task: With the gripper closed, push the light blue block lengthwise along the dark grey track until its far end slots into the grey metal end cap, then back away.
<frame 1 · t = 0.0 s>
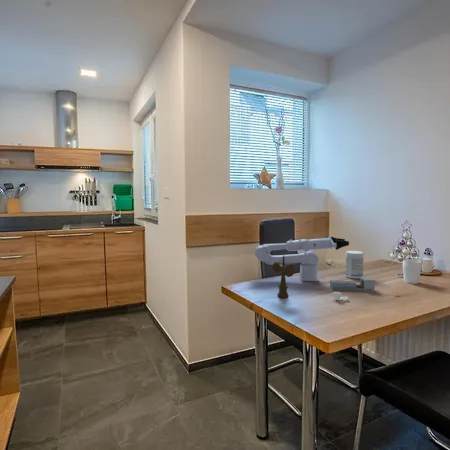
hand: (346, 242, 174), 22 cm above the table, tool horizontal, fingers open, 7 cm apart
track: (349, 289, 161), on the table
teacup and saucer: (342, 303, 142), on the table
kendama: (282, 297, 150), on the table
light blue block: (342, 289, 161), resting in track
supplement tub: (353, 277, 184), on the table
cup: (410, 282, 173), on the table
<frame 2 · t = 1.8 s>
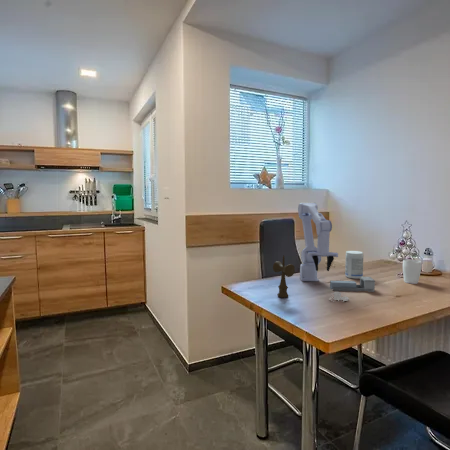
hand: (322, 270, 161), 9 cm above the table, tool pointing down, fingers open, 5 cm apart
nothing on the table moved.
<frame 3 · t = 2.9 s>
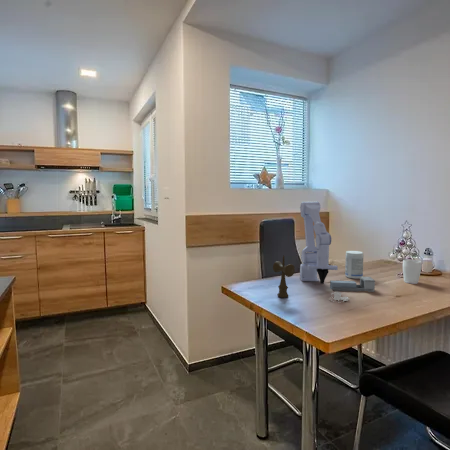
hand: (321, 283, 162), 3 cm above the table, tool pointing down, fingers closed
nothing on the table moved.
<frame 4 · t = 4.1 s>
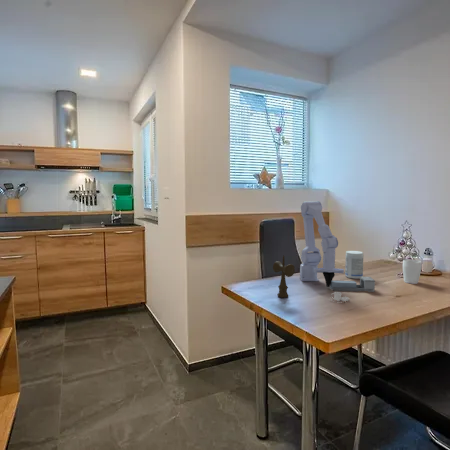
hand: (328, 286, 162), 1 cm above the table, tool pointing down, fingers closed
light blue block: (342, 289, 161), resting in track, touching gripper
everything else where it was.
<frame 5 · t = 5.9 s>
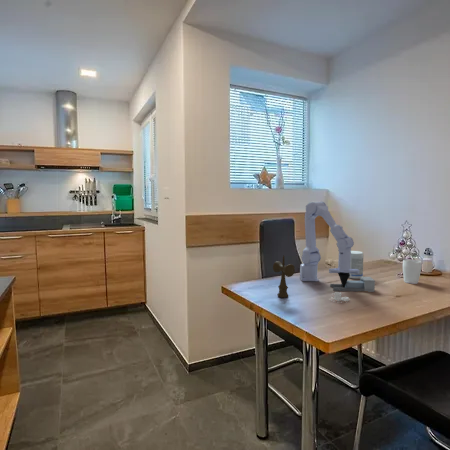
hand: (343, 287, 161), 1 cm above the table, tool pointing down, fingers closed
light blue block: (357, 289, 161), resting in track, touching gripper
everything else where it was.
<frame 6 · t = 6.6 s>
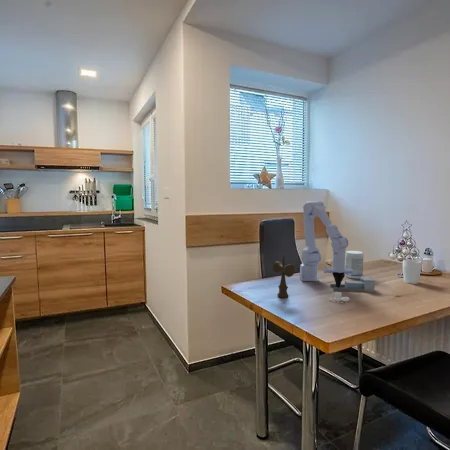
hand: (337, 286, 161), 1 cm above the table, tool pointing down, fingers closed
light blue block: (357, 289, 161), resting in track
everything else where it was.
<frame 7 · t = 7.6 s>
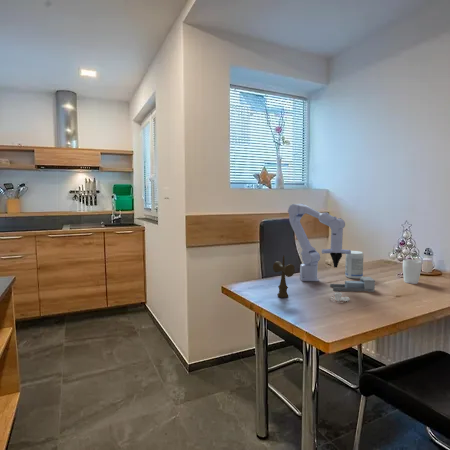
hand: (335, 267, 167), 10 cm above the table, tool pointing down, fingers closed
nothing on the table moved.
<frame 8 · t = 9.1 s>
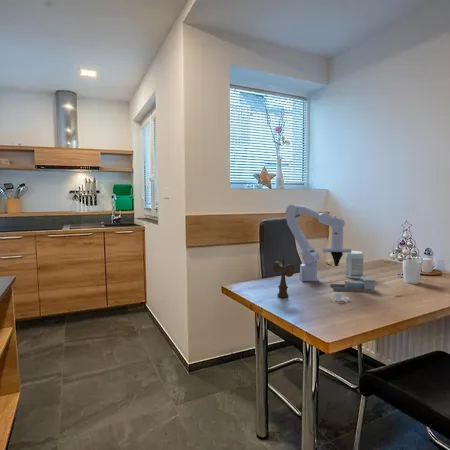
hand: (336, 265, 169), 10 cm above the table, tool pointing down, fingers closed
nothing on the table moved.
at the end: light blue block 0.8 cm from the target spot on the track, point 0.0 cm above the track's base; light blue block tilted 0°; the gripper is holding nothing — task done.
